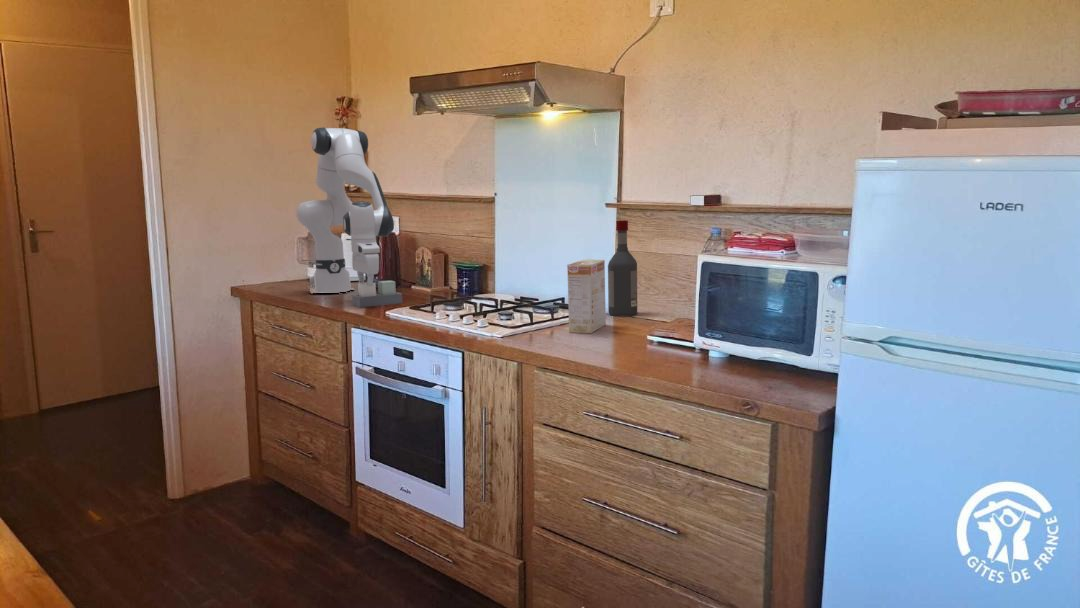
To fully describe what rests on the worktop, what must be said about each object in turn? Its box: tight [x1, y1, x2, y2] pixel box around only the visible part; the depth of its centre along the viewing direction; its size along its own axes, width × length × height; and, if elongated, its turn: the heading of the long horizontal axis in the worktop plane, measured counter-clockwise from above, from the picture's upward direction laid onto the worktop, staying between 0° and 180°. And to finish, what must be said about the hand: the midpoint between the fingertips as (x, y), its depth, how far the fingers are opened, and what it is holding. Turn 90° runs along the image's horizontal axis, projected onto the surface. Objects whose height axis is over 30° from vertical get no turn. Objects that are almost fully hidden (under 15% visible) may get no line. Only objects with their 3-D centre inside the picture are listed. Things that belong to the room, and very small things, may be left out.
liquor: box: [607, 220, 638, 317], centre depth 242 cm, size 9×9×30 cm
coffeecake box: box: [566, 258, 607, 334], centre depth 218 cm, size 15×7×20 cm, turn 159°
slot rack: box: [352, 291, 403, 308], centre depth 278 cm, size 8×16×4 cm, turn 121°
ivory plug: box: [357, 281, 377, 297], centre depth 276 cm, size 5×5×8 cm
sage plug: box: [377, 280, 397, 295], centre depth 280 cm, size 5×5×8 cm
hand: (365, 284), depth 276 cm, fingers open, 8 cm apart
